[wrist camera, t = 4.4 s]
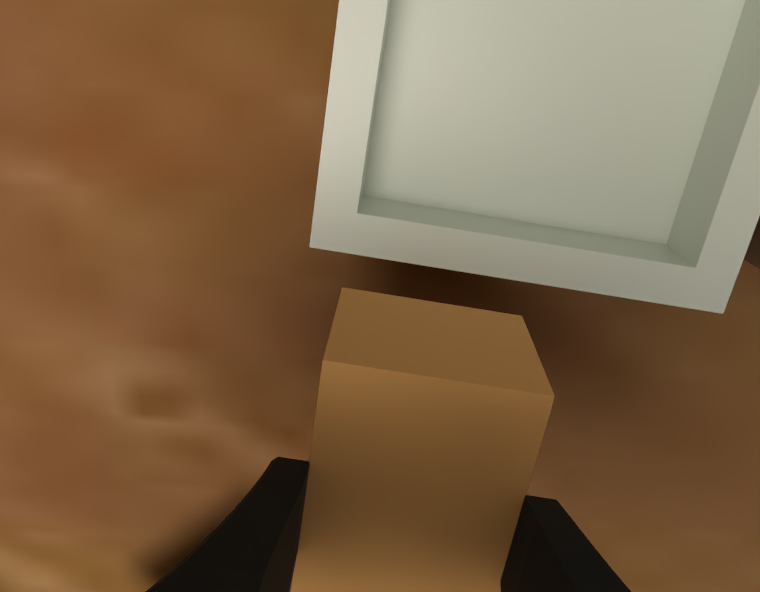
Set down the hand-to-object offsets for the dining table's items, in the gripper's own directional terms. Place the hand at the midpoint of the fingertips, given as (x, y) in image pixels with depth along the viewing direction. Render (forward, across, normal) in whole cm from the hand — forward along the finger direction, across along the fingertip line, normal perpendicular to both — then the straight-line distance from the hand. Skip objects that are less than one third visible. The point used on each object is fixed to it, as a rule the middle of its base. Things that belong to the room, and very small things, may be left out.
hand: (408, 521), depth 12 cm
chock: (+3, 0, 0) cm, 3 cm away
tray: (+7, -2, -8) cm, 11 cm away
